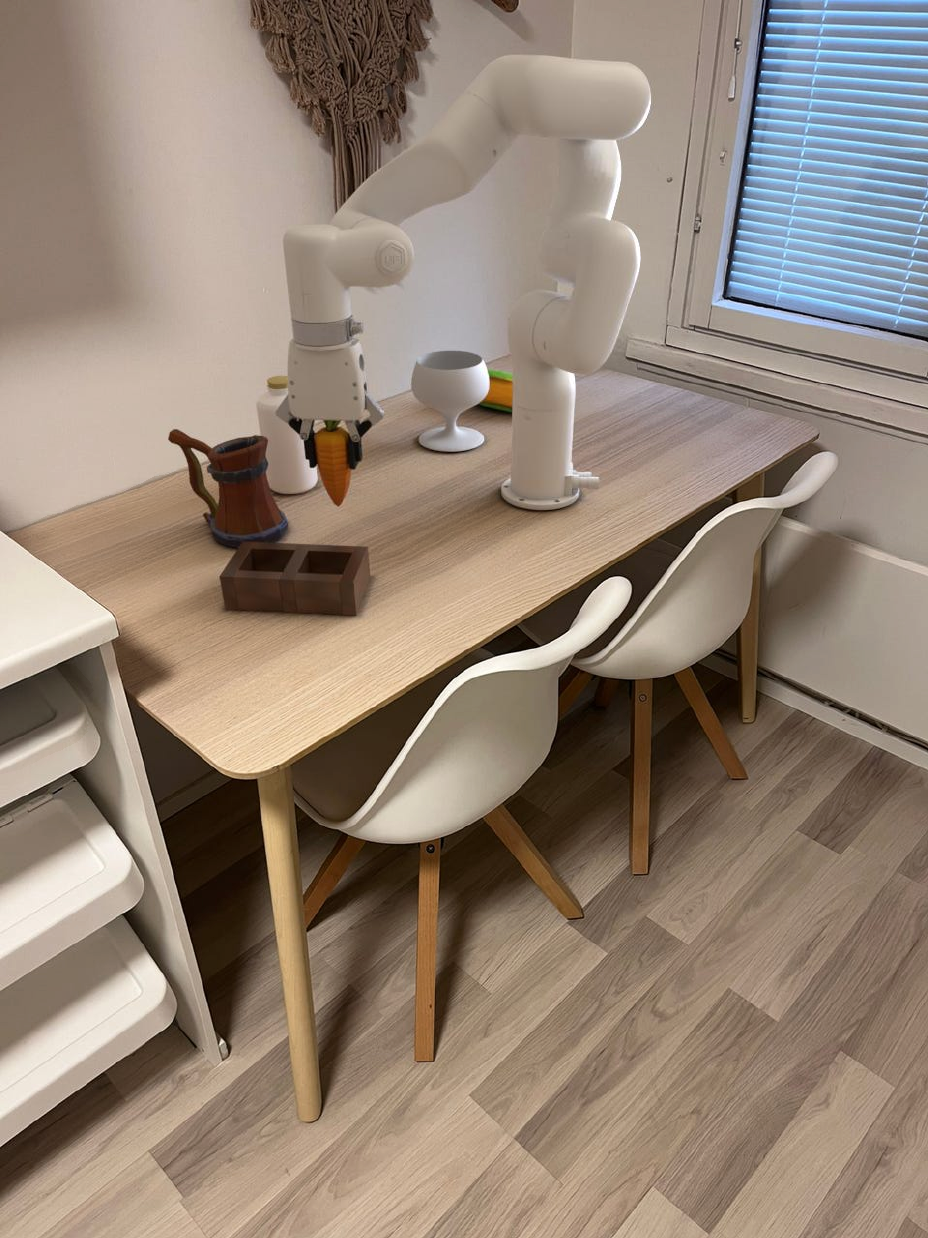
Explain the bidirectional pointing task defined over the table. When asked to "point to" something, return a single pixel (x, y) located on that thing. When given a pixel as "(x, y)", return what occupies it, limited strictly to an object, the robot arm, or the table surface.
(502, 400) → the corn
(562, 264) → the robot arm
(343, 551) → the holder
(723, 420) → the table surface
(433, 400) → the chalice
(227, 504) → the mug
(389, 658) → the table surface
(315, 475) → the white bottle
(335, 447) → the carrot
